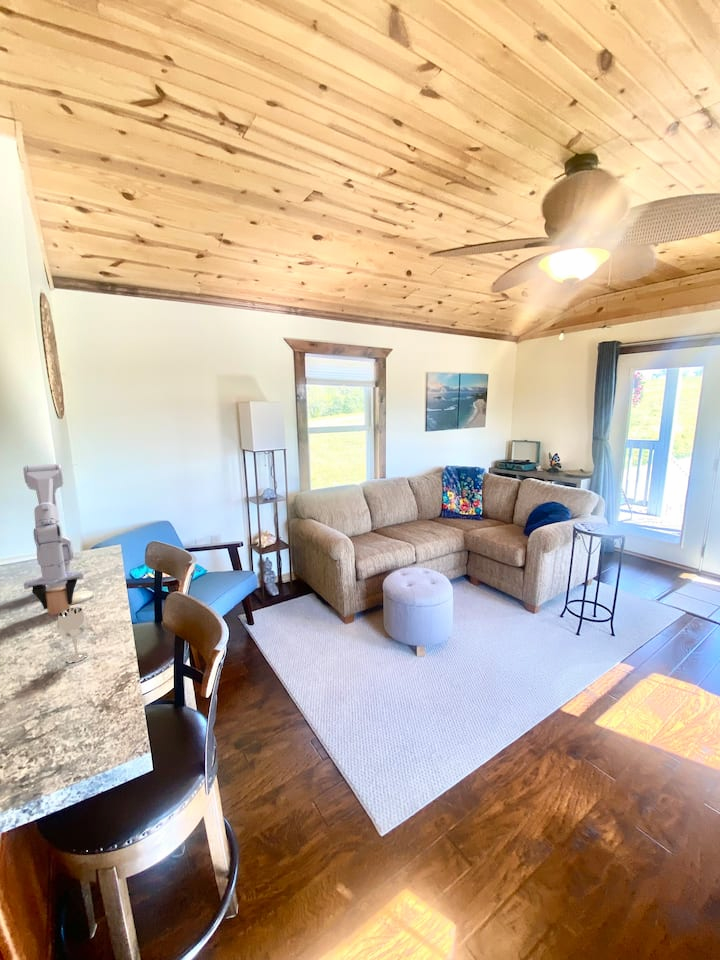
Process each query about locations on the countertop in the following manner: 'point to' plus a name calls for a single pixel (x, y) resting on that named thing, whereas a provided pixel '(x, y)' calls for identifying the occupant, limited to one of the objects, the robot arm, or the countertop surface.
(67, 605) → the cup
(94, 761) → the countertop surface
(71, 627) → the wineglass
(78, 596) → the dish
